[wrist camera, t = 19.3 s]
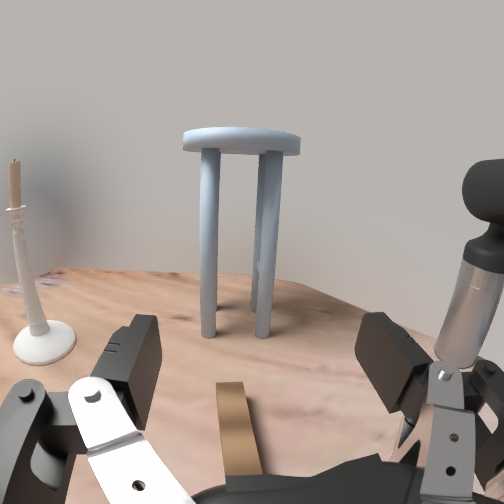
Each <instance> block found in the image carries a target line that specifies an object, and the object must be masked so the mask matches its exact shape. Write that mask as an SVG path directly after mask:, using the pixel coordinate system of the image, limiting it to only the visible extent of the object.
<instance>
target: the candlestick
mask: <svg viewBox="0 0 504 504" xmlns="http://www.w3.org/2000/svg"><path fill="white" fill-rule="evenodd" d="M14 161H15V159H14ZM9 198H10V208H9V209H6V211H8V213H9V220H10V221H11V222H12V226H13V241H14V251H15V258H16V266H17V272H18V278H19V284H20V289H21V294H22V299H23V303H24V308H25V312H26V316H27V320H28V324H29V326H27V327H26V328H24V329H23V330H22V331H21V332H20V333H19V334H18V336H17V337H16V339H15V341H14V345H13V349H14V353H15V355H16V357H17V358H18V359H19V360H20V361H21V362H23V363H25V364H28V365H35V366H39V365H46V364H50V363H53V362H56V361H58V360H60V359H61V358H63V357H64V356H66V355H67V354H68V353H69V352H70V351H71V350H72V348H73V347H74V345H75V342H76V336H75V332H74V330H73V329H72V328H71V327H70V326H69V325H67V324H65V323H63V322H60V321H56V320H46V319H45V316H44V313H43V310H42V307H41V303H40V300H39V297H38V293H37V290H36V286H35V283H34V279H33V275H32V271H31V266H30V262H29V258H28V253H27V248H26V242H25V237H24V231H23V229H22V220H23V218H24V214H23V210H24V208H25V207H26V206H21V189H20V162H12V163H9Z"/></svg>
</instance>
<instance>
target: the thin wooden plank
mask: <svg viewBox="0 0 504 504" xmlns="http://www.w3.org/2000/svg"><path fill="white" fill-rule="evenodd" d="M216 397H217V408H218V419H219V428H220V437H221V446H222V454H223V463H224V470H225V475H258V474H263V472H262V468H261V464H260V460H259V455H258V451H257V447H256V442H255V438H254V433H253V429H252V424H251V420H250V415H249V410H248V405H247V401H246V396H245V391H244V386H243V382H225V383H216Z"/></svg>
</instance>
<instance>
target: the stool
mask: <svg viewBox="0 0 504 504" xmlns="http://www.w3.org/2000/svg"><path fill="white" fill-rule="evenodd" d="M183 150H185V151H191V152H202V155H201V182H200V185H201V186H200V304H201V331H202V336H203V337H205V338H213V337H215V335H216V310H217V256H218V211H219V210H218V209H219V181H220V158H221V153H224V154H247V155H259V169H258V187H257V188H258V189H257V205H256V206H257V207H256V224H255V242H254V261H253V278H252V295H251V311H253V312H256V326H255V336H256V337H258V338H261V339H264V338H267V337H268V336H269V330H270V320H271V309H272V298H273V287H274V275H275V264H276V251H277V238H278V225H279V211H280V196H281V180H282V164H283V156H295V155H299V154H300V137H298V136H296V135H293V134H290V133H286V132H280V131H274V130H268V129H259V128H245V127H216V128H215V127H213V128H202V129H195V130H190V131H187V132H185V133H184V140H183Z"/></svg>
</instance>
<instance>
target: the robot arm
mask: <svg viewBox="0 0 504 504" xmlns="http://www.w3.org/2000/svg"><path fill="white" fill-rule="evenodd" d="M462 195H463V200H464V203H465V205H466V207H467V209H468V210H469V212H470V213H471V214H472V215H473V216H475V217H476V218H478V219H480V220H483V221H487V222H490V225H489V228H488V230H487V232H485V233H484V234H483V235H482V236H480V237H478V238H475V239H472V240H469V241H468V242H467V243H466V245H465V249H464V254H463V258H462V262H461V267H460V271H459V275H458V279H457V282H456V286H455V289H454V293H453V296H452V300H451V303H450V306H449V309H448V312H447V315H446V318H445V321H444V324H443V326H442V329H441V331H440V334H439V337H438V339H437V342H436V344H435V347H434V350H435V353H436V355H437V356H438V357H439V358H440V359H441V360H442V361H435V362H434V361H433V360H432V359H431V358H430V357H429V355H428V354H427V353H426V352H425V351H424V350H423V349H422V348H421V347H420V346H419V344H418V343H415V340H414V339H413V338H412V337H410V335H409V334H408V333H407V332H406V330H405V329H404V328H402V327H401V326H399V325H397V324H395V323H394V322H393V321H392V320H391V319H390V318H389V317H388V316H387V315H386V314H385V313H384V312H374V313H366V314H365V315H364V316H363V319H362V322H361V326H360V330H359V333H358V337H357V341H356V344H355V355H356V358H357V360H358V362H359V363H360V365H361V367H362V368H363V370H364V372H365V373H366V375H367V376H368V378H369V380H370V381H371V383H372V385H373V386H374V388H375V390H376V391H377V393H378V395H379V397H380V398H381V400H382V402H383V403H384V405H385V407H386V408H387V410H388V412H389V414H390V413H394V412H397V411H400V410H401V411H402V412H403V414H404V415H403V417H402V418H401V422H400V426H399V430H398V434H397V438H396V442H395V446H394V449H393V453H392V455H391V458H390V460H389V462H385V461H383V462H382V460H381V458H380V456H379V454H378V453H377V454H373V455H370V456H366V457H363V458H359V459H355V460H351V461H347V462H344V463H342V464H340V465H338V466H336V467H333V468H331V469H329V470H327V471H324V472H322V473H320V474H317V475H315V476H312V477H293V476H281V475H272V474H258V475H225V479H226V484H224V485H220V486H216V487H212V488H209V489H206V490H204V491H201V492H199V493H197V494H195V495H193V496H191V497H190V496H189V495H188V494H187V493H186V492H185V491H184V489H183V488H182V487H181V486H180V485H179V483H178V482H177V481H176V480H175V479H174V477H173V476H172V475H171V473H170V472H169V471H168V470H167V468H166V467H165V466H164V464H163V463H162V462H161V460H160V459H159V458H158V456H157V455H156V453H155V452H154V451H153V449H152V448H151V446H150V445H149V443H148V442H147V440H146V439H145V438H144V436H143V435H142V434H141V433H139V432H138V431H137V430H144V431H145V427H146V423H147V419H148V414H149V410H150V406H151V402H152V398H153V394H154V390H155V386H156V382H157V378H158V374H159V371H160V367H161V362H162V348H161V342H160V335H159V328H158V321H157V317H156V316H155V315H140V314H136V315H135V317H134V318H133V320H132V322H131V324H130V326H129V327H125V326H122V327H121V328H120V329H118V330H117V331H116V332H115V333H113V335H112V337H111V338H110V340H109V342H108V344H107V345H106V347H105V349H104V352H103V353H102V354H101V356H100V358H99V360H98V362H97V364H96V366H95V367H94V369H93V371H92V373H91V375H90V377H87V378H83V379H81V380H79V381H77V382H76V383H75V384H74V385H73V386H72V387H71V389H70V391H69V392H46V390H45V388H44V386H43V385H42V384H41V383H40V382H39V381H37V380H33V379H26V380H22V381H20V382H18V383H16V384H15V385H14V386H13V387H12V388H11V390H10V391H9V393H8V395H7V396H6V398H5V400H4V401H3V403H2V405H1V406H0V504H65V500H66V495H67V491H68V486H69V482H70V478H71V474H72V470H73V466H74V462H75V459H76V455H77V454H87V456H88V459H89V461H90V464H91V466H92V468H93V470H94V472H95V474H96V476H97V478H98V480H99V482H100V484H101V486H102V488H103V490H104V491H105V493H106V495H107V497H108V499H109V500H110V502H111V504H504V372H503V371H502V370H501V369H500V368H499V367H498V366H497V365H496V364H495V363H493V362H491V361H488V360H479V361H477V362H476V364H475V366H474V368H473V370H472V372H461V371H460V370H459V369H458V368H466V367H469V366H471V365H472V364H473V363H474V361H475V359H476V357H477V355H478V353H479V350H480V349H481V346H482V344H483V342H484V340H485V337H486V335H487V333H488V330H489V328H490V325H491V323H492V320H493V318H494V315H495V312H496V309H497V306H498V304H499V301H500V298H501V295H502V292H503V288H504V159H496V160H485V161H480V162H477V163H476V164H474V165H473V166H472V167H471V168H470V169H469V170H468V172H467V174H466V176H465V178H464V181H463V186H462ZM485 403H487V404H488V405H489V406H490V408H491V409H492V410H493V412H494V413H495V414H496V416H497V417H498V427H497V429H496V430H495V431H494V433H493V434H492V433H491V432H490V431H489V429H488V428H487V426H486V425H485V423H484V422H483V420H482V419H481V418H480V416H479V415H478V413H479V411H480V410H481V409H482V407H483V406H484V404H485ZM136 429H137V430H136ZM474 472H475V474H476V476H477V478H478V480H479V482H480V484H481V486H482V488H483V490H484V491H485V494H484V495H481V494H478V493H475V492H472V490H473V481H474Z"/></svg>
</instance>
